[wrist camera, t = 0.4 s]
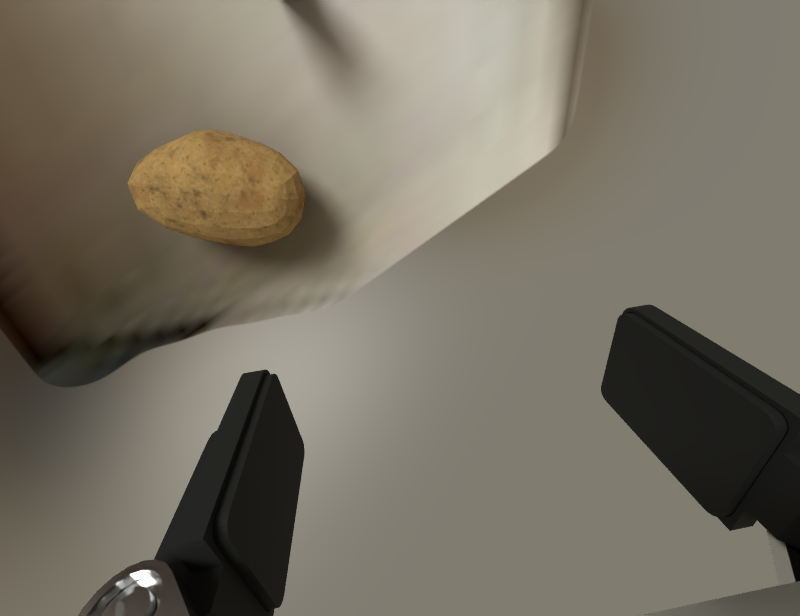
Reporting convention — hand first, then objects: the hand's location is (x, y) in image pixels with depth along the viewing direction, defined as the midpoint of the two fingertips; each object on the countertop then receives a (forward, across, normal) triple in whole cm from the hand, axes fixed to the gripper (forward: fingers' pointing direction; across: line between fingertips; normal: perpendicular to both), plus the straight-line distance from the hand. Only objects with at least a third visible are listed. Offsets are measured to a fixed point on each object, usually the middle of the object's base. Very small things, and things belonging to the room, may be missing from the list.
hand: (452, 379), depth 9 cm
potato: (+30, +14, -2) cm, 33 cm away
